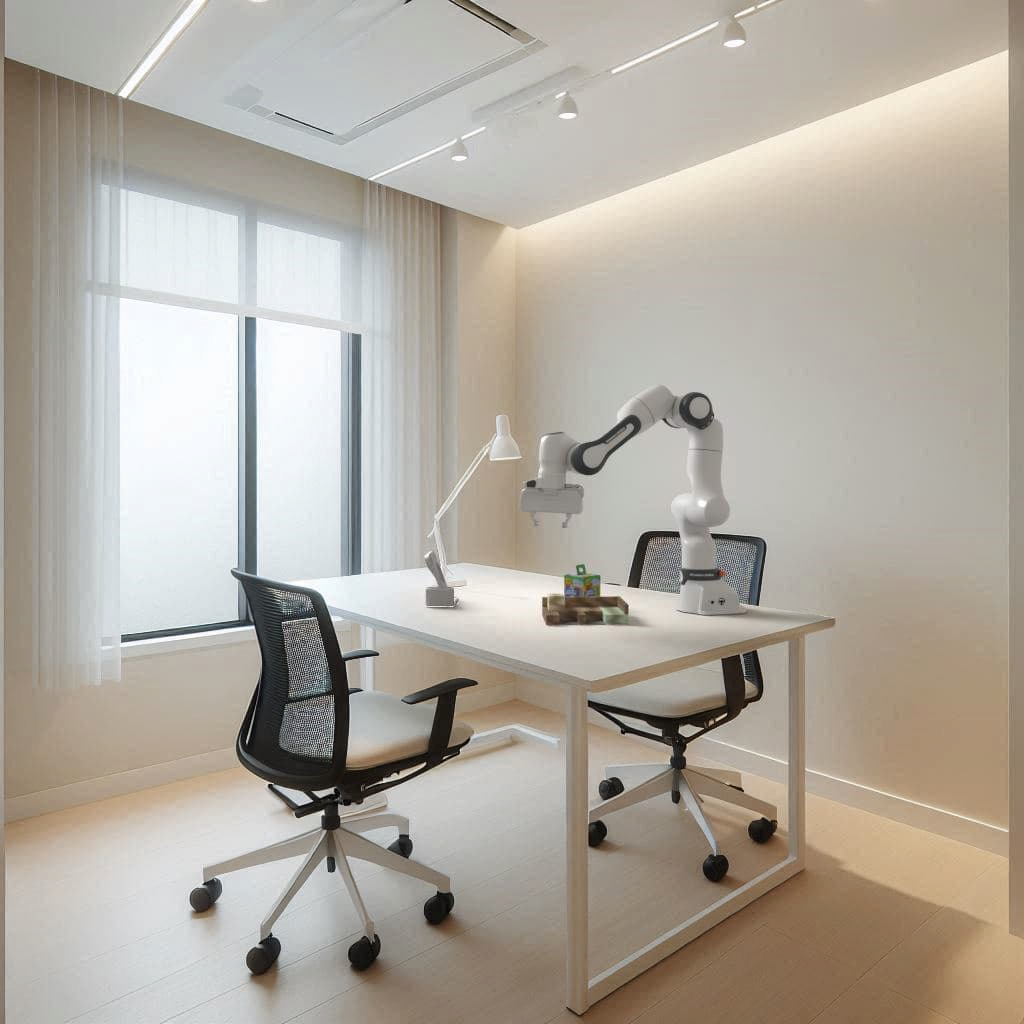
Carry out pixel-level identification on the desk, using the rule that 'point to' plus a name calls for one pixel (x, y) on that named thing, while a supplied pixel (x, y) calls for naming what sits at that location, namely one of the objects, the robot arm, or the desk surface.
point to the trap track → (588, 611)
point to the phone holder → (442, 592)
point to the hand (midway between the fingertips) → (550, 527)
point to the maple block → (556, 602)
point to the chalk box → (581, 584)
